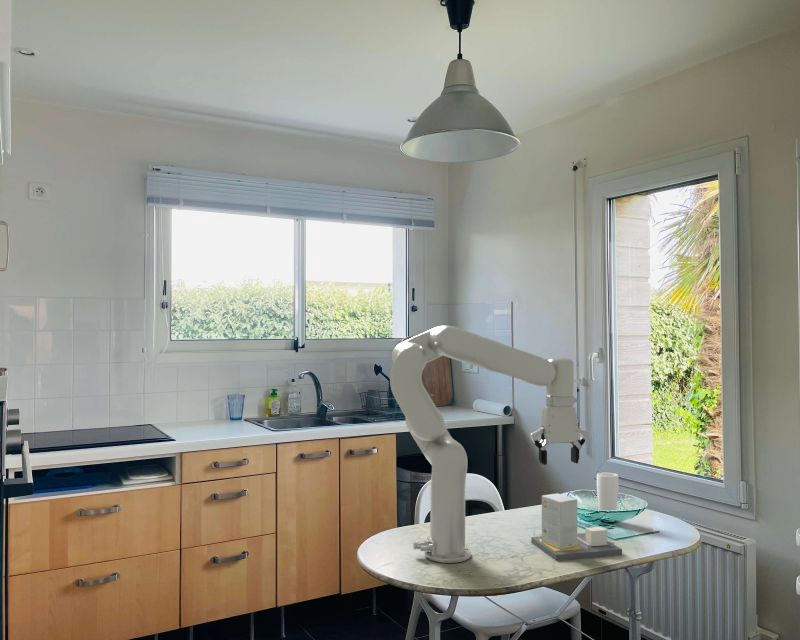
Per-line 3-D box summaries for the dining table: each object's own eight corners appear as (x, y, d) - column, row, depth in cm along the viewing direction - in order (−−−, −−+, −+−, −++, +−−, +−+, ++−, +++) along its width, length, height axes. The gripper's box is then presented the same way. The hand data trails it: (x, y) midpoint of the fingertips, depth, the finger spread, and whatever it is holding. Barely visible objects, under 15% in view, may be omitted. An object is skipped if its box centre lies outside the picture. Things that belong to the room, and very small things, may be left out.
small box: (577, 546, 184) (578, 499, 184) (560, 549, 181) (560, 502, 181) (557, 537, 191) (558, 492, 191) (540, 541, 188) (540, 495, 188)
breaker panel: (555, 560, 177) (555, 551, 177) (531, 542, 192) (531, 533, 192) (622, 554, 182) (622, 545, 182) (593, 537, 197) (593, 528, 197)
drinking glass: (610, 517, 217) (610, 471, 217) (622, 523, 211) (623, 476, 211) (592, 518, 215) (592, 472, 215) (604, 525, 209) (604, 477, 209)
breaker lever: (591, 546, 184) (591, 531, 184) (585, 542, 187) (585, 527, 187) (607, 545, 185) (607, 529, 185) (601, 541, 188) (601, 526, 188)
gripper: (580, 400, 192) (580, 459, 192) (525, 401, 188) (524, 461, 188) (594, 403, 185) (593, 464, 184) (537, 404, 180) (536, 467, 180)
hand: (559, 463), depth 186 cm, fingers open, 9 cm apart
